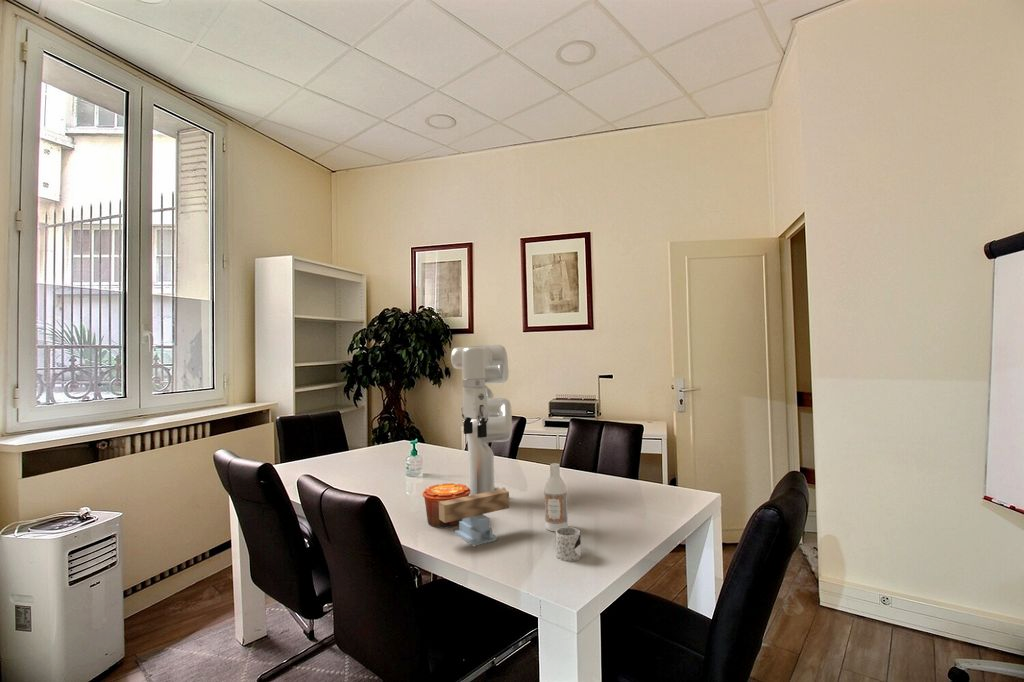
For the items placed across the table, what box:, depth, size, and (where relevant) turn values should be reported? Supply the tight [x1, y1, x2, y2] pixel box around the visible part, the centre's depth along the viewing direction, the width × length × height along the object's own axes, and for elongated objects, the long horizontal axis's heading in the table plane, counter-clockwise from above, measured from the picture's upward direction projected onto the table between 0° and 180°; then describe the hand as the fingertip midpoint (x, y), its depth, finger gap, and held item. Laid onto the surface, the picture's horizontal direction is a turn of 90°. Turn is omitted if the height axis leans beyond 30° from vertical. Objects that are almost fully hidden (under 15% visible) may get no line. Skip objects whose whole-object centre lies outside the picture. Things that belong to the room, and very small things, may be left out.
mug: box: [555, 526, 582, 562], centre depth 131 cm, size 10×7×7 cm
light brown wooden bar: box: [439, 489, 510, 523], centre depth 145 cm, size 22×4×5 cm, turn 123°
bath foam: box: [544, 462, 569, 533], centre depth 150 cm, size 7×7×20 cm
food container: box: [422, 482, 471, 529], centre depth 159 cm, size 16×16×11 cm
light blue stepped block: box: [454, 514, 498, 547], centre depth 144 cm, size 8×12×7 cm, turn 33°
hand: (475, 435), depth 159 cm, fingers open, 9 cm apart
